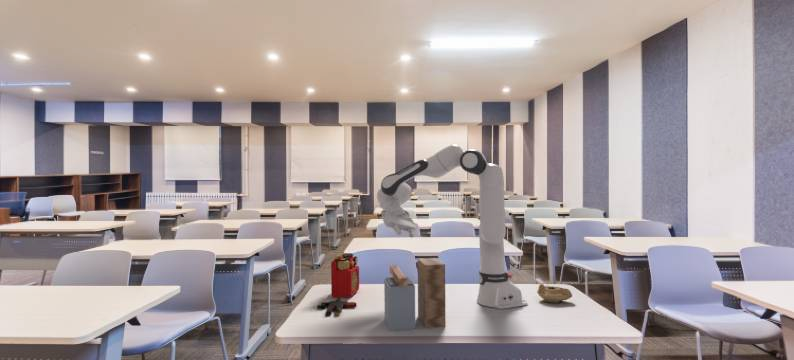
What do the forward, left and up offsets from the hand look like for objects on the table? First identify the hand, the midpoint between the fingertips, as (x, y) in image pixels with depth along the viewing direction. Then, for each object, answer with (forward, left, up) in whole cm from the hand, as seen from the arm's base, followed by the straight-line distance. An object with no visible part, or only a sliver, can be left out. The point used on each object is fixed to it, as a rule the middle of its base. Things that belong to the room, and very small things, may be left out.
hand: (406, 235), depth 176 cm
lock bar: (+9, +25, -14) cm, 30 cm away
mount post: (-4, +29, -31) cm, 42 cm away
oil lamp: (-67, +16, -31) cm, 76 cm away
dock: (+9, +29, -31) cm, 43 cm away
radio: (+28, -15, -31) cm, 44 cm away
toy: (+34, +7, -31) cm, 47 cm away
